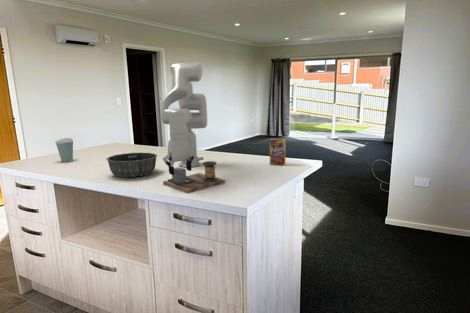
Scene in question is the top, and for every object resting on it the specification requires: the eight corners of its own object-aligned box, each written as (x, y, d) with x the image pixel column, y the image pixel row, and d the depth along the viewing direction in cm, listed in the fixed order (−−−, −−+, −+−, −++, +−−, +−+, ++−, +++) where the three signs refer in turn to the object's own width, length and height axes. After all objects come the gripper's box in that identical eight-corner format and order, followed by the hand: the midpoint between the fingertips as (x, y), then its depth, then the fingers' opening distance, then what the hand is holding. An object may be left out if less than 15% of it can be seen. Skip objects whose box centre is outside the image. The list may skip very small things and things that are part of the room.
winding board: (199, 175, 170) (199, 156, 168) (225, 182, 156) (224, 162, 154) (163, 184, 155) (162, 164, 153) (187, 193, 141) (186, 170, 139)
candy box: (269, 165, 191) (269, 139, 188) (271, 163, 195) (271, 138, 192) (284, 165, 188) (284, 139, 185) (285, 164, 192) (285, 138, 189)
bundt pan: (133, 166, 195) (132, 150, 193) (168, 170, 183) (167, 153, 181) (97, 177, 172) (95, 159, 170) (134, 182, 160) (132, 163, 158)
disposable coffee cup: (68, 163, 210) (66, 140, 207) (54, 162, 211) (50, 140, 208) (79, 159, 220) (76, 137, 217) (64, 159, 222) (62, 137, 219)
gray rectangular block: (179, 179, 158) (178, 167, 157) (186, 181, 153) (185, 169, 152) (172, 180, 155) (171, 168, 154) (179, 183, 151) (178, 170, 150)
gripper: (189, 133, 158) (190, 167, 162) (157, 138, 146) (160, 174, 150) (198, 135, 153) (199, 170, 156) (166, 139, 141) (169, 177, 145)
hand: (180, 172), depth 153 cm, fingers open, 9 cm apart
